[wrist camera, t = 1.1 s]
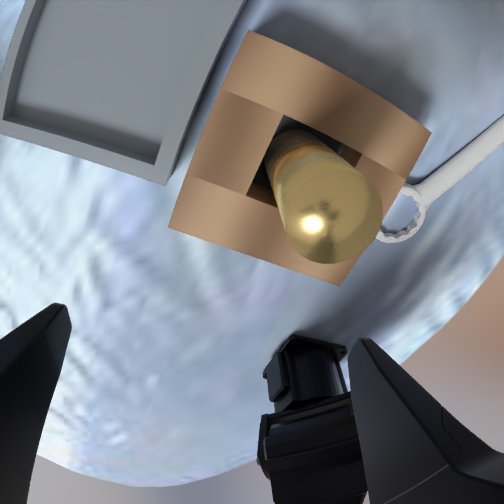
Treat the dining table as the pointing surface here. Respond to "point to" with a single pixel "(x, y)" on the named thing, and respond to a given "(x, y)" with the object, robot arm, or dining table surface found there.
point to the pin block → (260, 135)
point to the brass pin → (321, 199)
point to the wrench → (446, 178)
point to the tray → (112, 77)
